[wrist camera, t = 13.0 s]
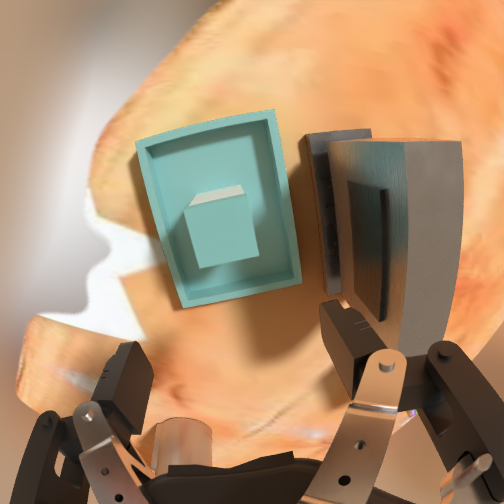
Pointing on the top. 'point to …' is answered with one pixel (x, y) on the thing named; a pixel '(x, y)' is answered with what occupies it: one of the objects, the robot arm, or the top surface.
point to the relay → (221, 226)
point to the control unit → (390, 230)
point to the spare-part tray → (217, 177)
